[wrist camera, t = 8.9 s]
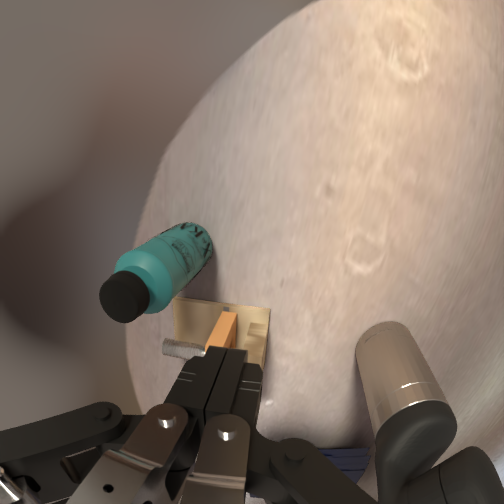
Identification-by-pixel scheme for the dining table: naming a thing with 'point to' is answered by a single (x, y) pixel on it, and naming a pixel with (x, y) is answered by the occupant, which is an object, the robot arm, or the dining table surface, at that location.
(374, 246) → the dining table surface
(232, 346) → the collar
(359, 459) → the dark blue flat slab
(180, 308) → the pipe stand
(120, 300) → the beverage bottle
